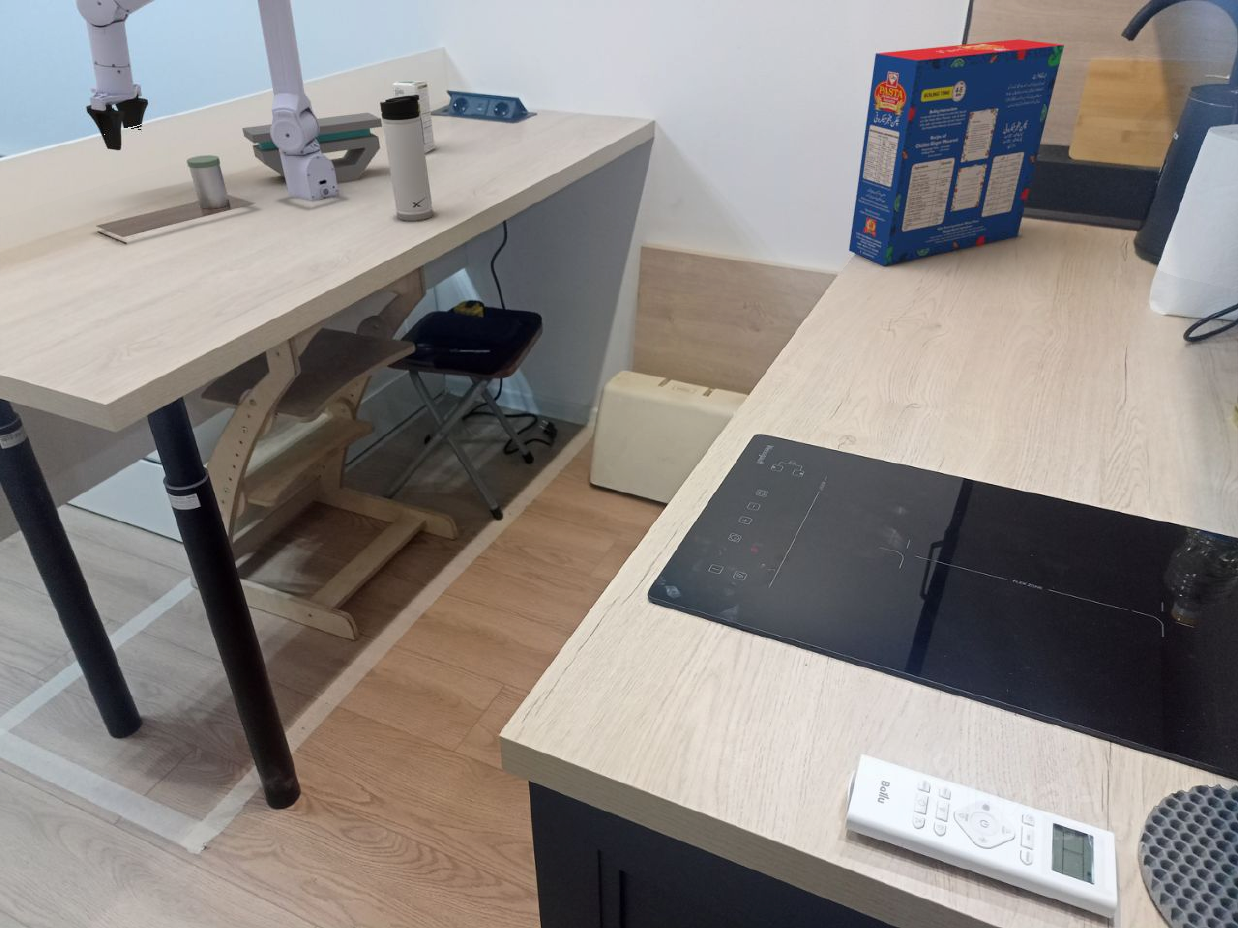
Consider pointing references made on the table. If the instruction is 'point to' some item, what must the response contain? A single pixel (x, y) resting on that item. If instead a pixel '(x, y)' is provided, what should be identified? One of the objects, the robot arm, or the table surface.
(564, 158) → the table surface
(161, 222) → the board
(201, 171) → the tin
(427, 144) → the syrup box
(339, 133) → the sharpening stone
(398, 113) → the travel mug
